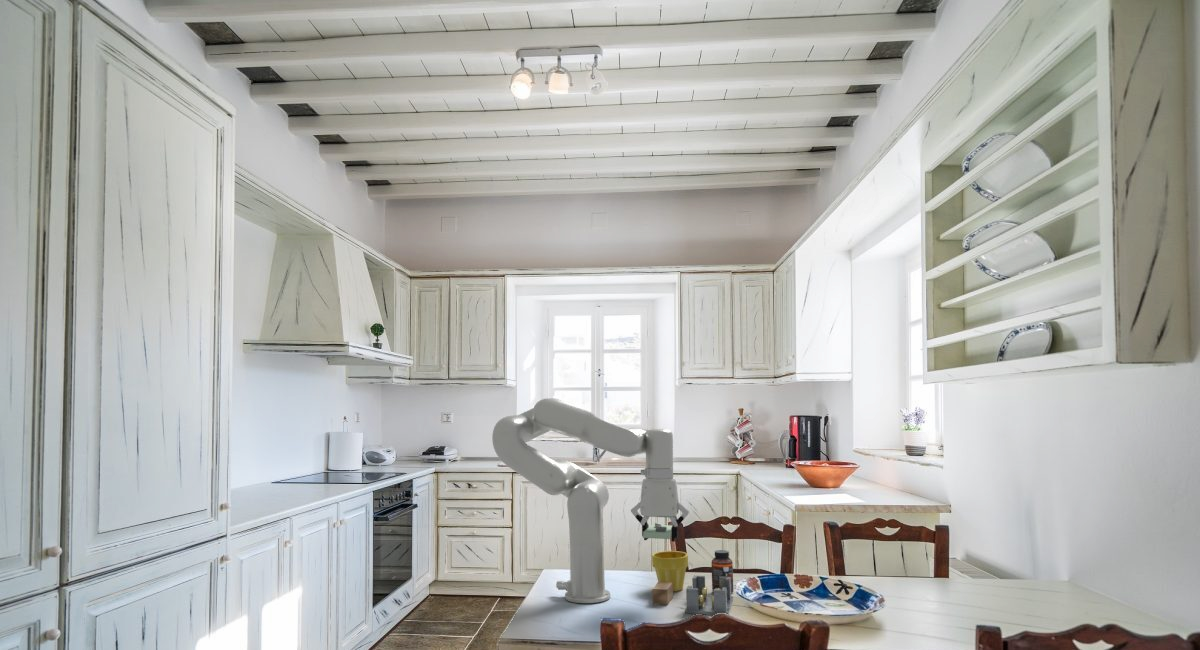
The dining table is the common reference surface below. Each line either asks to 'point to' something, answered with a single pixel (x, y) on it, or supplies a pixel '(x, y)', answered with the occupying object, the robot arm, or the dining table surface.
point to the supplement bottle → (721, 568)
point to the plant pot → (671, 567)
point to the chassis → (708, 597)
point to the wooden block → (662, 593)
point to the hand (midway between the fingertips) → (659, 539)
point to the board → (658, 531)
